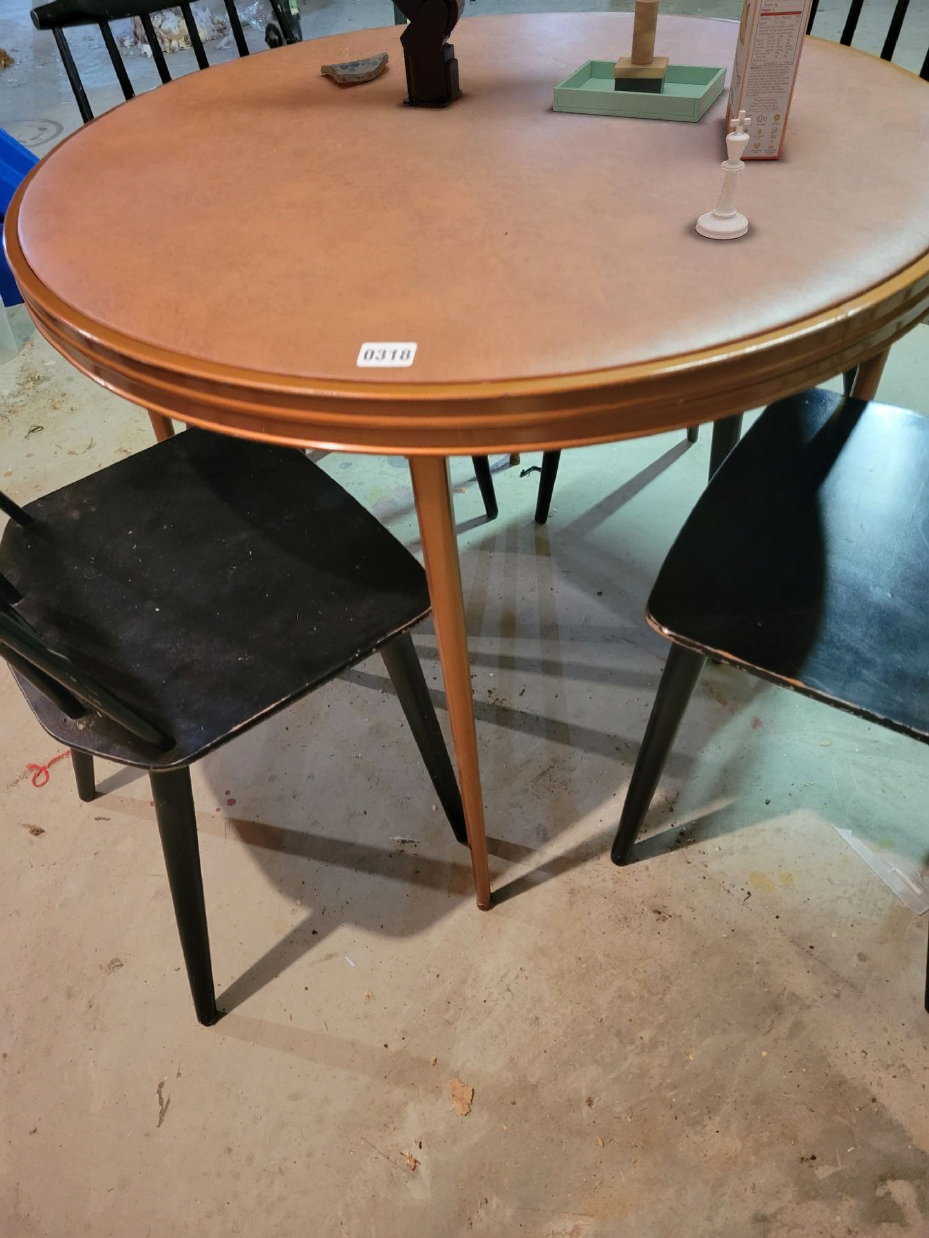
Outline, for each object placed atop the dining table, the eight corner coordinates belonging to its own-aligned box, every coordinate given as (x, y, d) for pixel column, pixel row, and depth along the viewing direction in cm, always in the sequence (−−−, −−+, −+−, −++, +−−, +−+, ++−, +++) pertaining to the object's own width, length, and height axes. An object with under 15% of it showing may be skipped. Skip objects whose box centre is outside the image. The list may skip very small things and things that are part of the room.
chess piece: (689, 221, 77) (706, 105, 70) (738, 216, 77) (760, 100, 70) (703, 242, 74) (723, 123, 66) (754, 236, 74) (780, 117, 66)
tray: (552, 111, 102) (553, 88, 100) (587, 81, 110) (588, 59, 108) (696, 122, 96) (700, 98, 94) (723, 90, 103) (727, 67, 101)
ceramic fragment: (330, 77, 113) (316, 50, 119) (334, 101, 116) (319, 73, 121) (400, 65, 115) (383, 39, 120) (402, 88, 118) (385, 62, 123)
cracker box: (721, 120, 96) (758, -110, 80) (772, 119, 95) (820, -114, 79) (724, 161, 87) (766, -89, 71) (780, 161, 86) (835, -93, 70)
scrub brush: (611, 100, 102) (618, 4, 94) (617, 89, 104) (624, -5, 97) (661, 101, 100) (671, 3, 92) (665, 90, 103) (676, -6, 95)
